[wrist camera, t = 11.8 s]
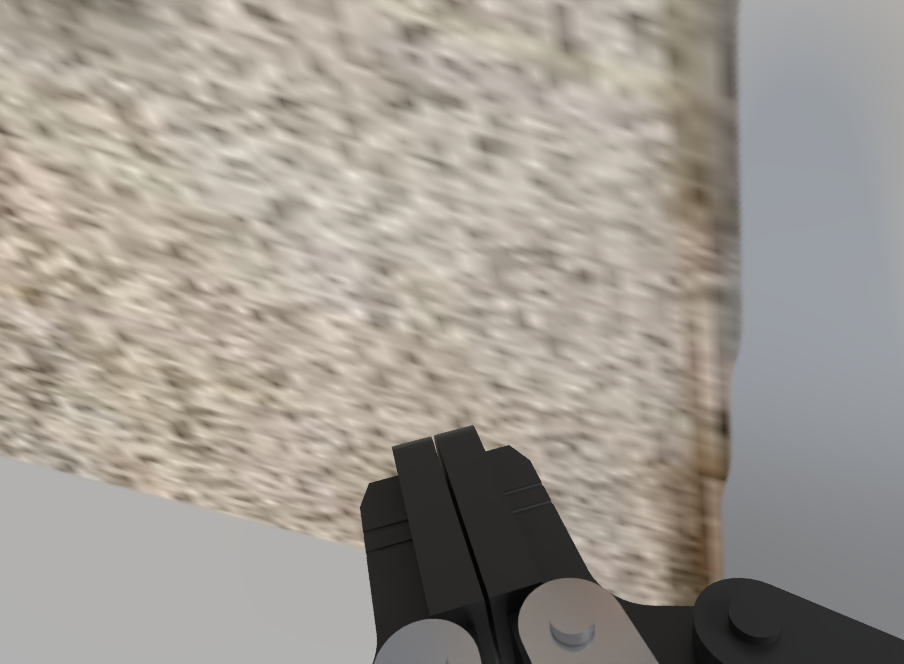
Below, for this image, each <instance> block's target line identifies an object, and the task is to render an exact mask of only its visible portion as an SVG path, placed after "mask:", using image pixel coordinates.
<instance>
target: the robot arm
mask: <svg viewBox="0 0 904 664" xmlns="http://www.w3.org/2000/svg"><path fill="white" fill-rule="evenodd" d="M434 439H435V445H436V449H437V452H436V449H435V446H434V443H433V440H432V437H431V436H430V437H427V438H423V439H419V440H415V441H412V442H408V443H404V444H400V445H396V446H393V447H392V450H393V455H394V459H395V463H396V468H397V472H398V476H394V477H390V478H387V479H383V480H379V481H376V482H372V483H369V485H368V488H367V490H366V493H365V495H364V498H363V501H362V503H361V506H360V511H361V519H362V527H363V533H364V542H365V549H366V554H367V564H368V572H369V580H370V587H371V595H372V602H373V609H374V618H375V625H376V633H377V648H376V654H375V658H374V661H373V664H904V640H902V639H900V638H897V637H895V636H893V635H890V634H888V633H886V632H883V631H881V630H878V629H876V628H873V627H871V626H868V625H866V624H864V623H861V622H859V621H857V620H854V619H852V618H849V617H847V616H844V615H842V614H840V613H837V612H835V611H833V610H830V609H828V608H825V607H823V606H821V605H818V604H816V603H813V602H811V601H809V600H806V599H804V598H801V597H799V596H796V595H794V594H792V593H789V592H787V591H785V590H782V589H780V588H777V587H775V586H772V585H770V584H767V583H764V582H761V581H757V580H753V579H746V578H730V579H724V580H720V581H718V582H715V583H713V584H711V585H710V586H708V587H706V588H705V589H704V590H703V591H702V592H701V593H700V595H699V596H698V598H697V600H696V602H695V605H694V606H649V605H641V604H636V603H632V602H629V601H626V600H623V599H621V598H619V597H616V596H614V595H613V594H611V593H610V592H608V591H607V590H606V589H604V588H603V587H602V586H600V585H599V584H598V583H597V582H596V580H595V579H594V578H593V577H592V575H591V574H590V572H589V571H588V569H587V567H586V565H585V563H584V561H583V560H582V558H581V556H580V554H579V552H578V550H577V548H576V546H575V544H574V543H573V541H572V539H571V537H570V535H569V533H568V531H567V529H566V527H565V526H564V524H563V522H562V520H561V518H560V516H559V514H558V512H557V510H556V509H555V507H554V505H553V504H552V503H551V499H550V497H549V495H548V493H547V492H546V490H545V488H544V486H542V483H541V480H540V478H539V476H538V475H537V473H536V471H535V469H534V467H533V465H532V463H531V461H530V460H529V459H527V458H526V457H525V456H523V455H522V454H521V453H519V452H518V451H517V450H515V449H514V448H512V447H511V446H510V445H508V446H504V447H500V448H497V449H493V450H489V451H486V452H485V450H484V447H483V445H482V443H481V440H480V438H479V436H478V434H477V431H476V429H475V427H474V426H473V425H471V426H467V427H464V428H460V429H456V430H452V431H449V432H445V433H441V434H437V435H434ZM437 454H438V455H437Z"/></svg>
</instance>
